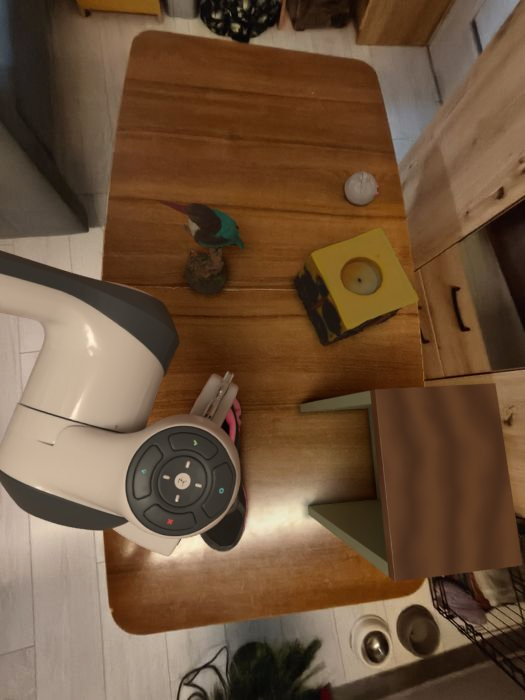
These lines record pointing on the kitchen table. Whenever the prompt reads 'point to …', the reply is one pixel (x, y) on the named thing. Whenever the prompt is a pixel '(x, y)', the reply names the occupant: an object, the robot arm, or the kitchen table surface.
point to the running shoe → (234, 521)
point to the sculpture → (207, 245)
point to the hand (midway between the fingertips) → (185, 452)
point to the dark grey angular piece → (360, 516)
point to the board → (443, 481)
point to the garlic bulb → (360, 188)
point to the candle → (353, 286)
